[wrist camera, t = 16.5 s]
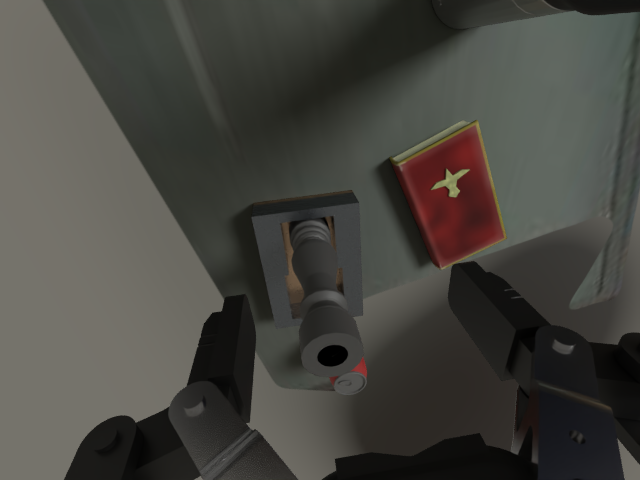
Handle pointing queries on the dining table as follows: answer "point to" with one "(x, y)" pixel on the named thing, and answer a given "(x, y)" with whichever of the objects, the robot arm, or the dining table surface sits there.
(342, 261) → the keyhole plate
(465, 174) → the hardcover book
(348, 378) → the beer can
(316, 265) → the candle holder
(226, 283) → the dining table surface
